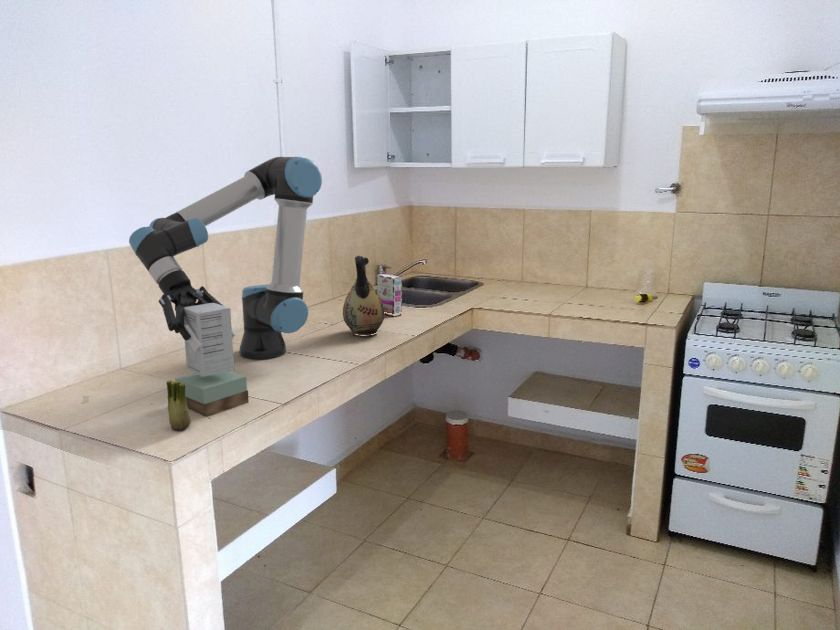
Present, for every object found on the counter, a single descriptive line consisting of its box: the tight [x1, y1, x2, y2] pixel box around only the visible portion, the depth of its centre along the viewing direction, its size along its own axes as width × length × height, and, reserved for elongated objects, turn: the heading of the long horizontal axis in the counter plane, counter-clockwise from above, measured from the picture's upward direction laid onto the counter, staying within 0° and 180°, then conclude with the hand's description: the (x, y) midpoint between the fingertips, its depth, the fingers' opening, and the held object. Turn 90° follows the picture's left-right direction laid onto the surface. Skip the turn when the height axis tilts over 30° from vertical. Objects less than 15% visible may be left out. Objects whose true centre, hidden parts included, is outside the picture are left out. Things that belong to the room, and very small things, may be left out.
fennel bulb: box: [166, 380, 192, 431], centre depth 156 cm, size 6×5×12 cm
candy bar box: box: [376, 273, 403, 314], centre depth 271 cm, size 11×5×16 cm, turn 43°
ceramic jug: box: [342, 255, 385, 335], centre depth 238 cm, size 17×15×30 cm
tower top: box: [174, 370, 248, 404], centre depth 172 cm, size 13×13×4 cm
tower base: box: [186, 389, 250, 418], centre depth 173 cm, size 13×13×4 cm
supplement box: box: [184, 303, 235, 377], centre depth 169 cm, size 10×9×17 cm
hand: (216, 342), depth 168 cm, fingers closed on supplement box, 11 cm apart
